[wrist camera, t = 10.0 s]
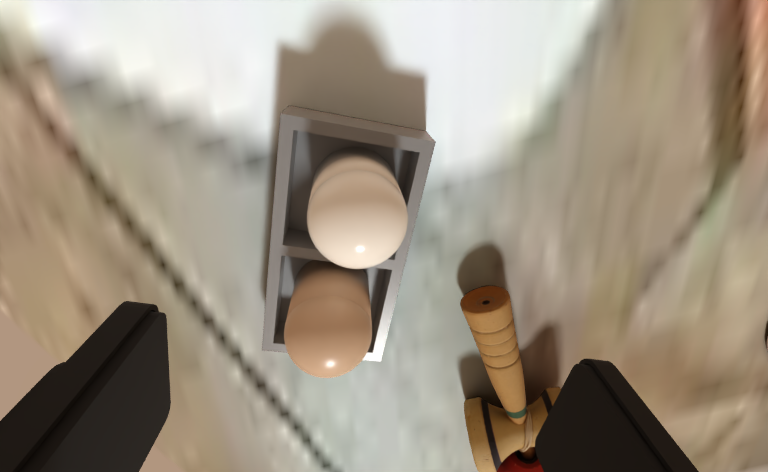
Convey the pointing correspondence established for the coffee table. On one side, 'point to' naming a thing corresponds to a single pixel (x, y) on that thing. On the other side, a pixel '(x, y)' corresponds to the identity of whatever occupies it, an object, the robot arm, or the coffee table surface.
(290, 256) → the carton
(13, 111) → the coffee table surface
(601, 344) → the coffee table surface
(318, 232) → the egg
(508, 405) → the kendama
